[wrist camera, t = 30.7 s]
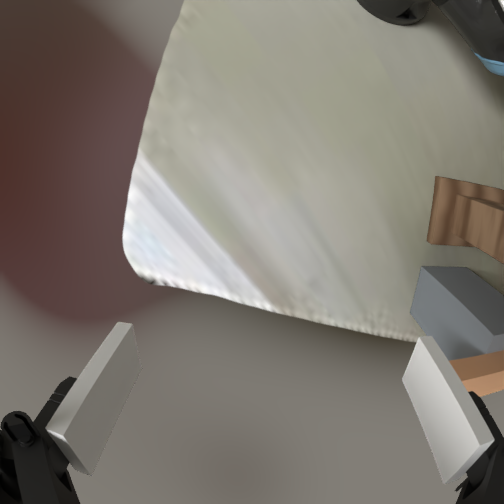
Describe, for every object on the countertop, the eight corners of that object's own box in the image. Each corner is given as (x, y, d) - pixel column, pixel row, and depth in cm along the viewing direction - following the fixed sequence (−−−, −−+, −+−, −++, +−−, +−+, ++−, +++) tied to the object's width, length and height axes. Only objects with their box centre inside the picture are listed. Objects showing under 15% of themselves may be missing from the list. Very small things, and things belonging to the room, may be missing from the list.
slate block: (409, 312, 55) (466, 392, 32) (421, 266, 51) (493, 335, 29) (454, 310, 54) (514, 378, 32) (466, 267, 51) (539, 326, 28)
